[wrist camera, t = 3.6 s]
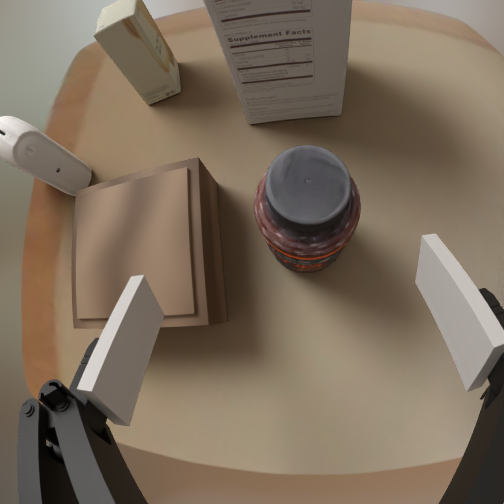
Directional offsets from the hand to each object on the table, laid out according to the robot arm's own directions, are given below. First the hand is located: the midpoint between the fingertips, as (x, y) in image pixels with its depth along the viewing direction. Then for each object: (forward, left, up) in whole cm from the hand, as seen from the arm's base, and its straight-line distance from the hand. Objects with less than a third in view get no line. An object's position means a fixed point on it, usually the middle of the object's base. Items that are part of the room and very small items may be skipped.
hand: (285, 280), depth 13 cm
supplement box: (-3, -20, -11) cm, 23 cm away
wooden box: (+11, -4, -10) cm, 16 cm away
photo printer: (+24, -16, -11) cm, 31 cm away
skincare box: (+11, -25, -10) cm, 30 cm away
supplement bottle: (-2, -4, -11) cm, 11 cm away
